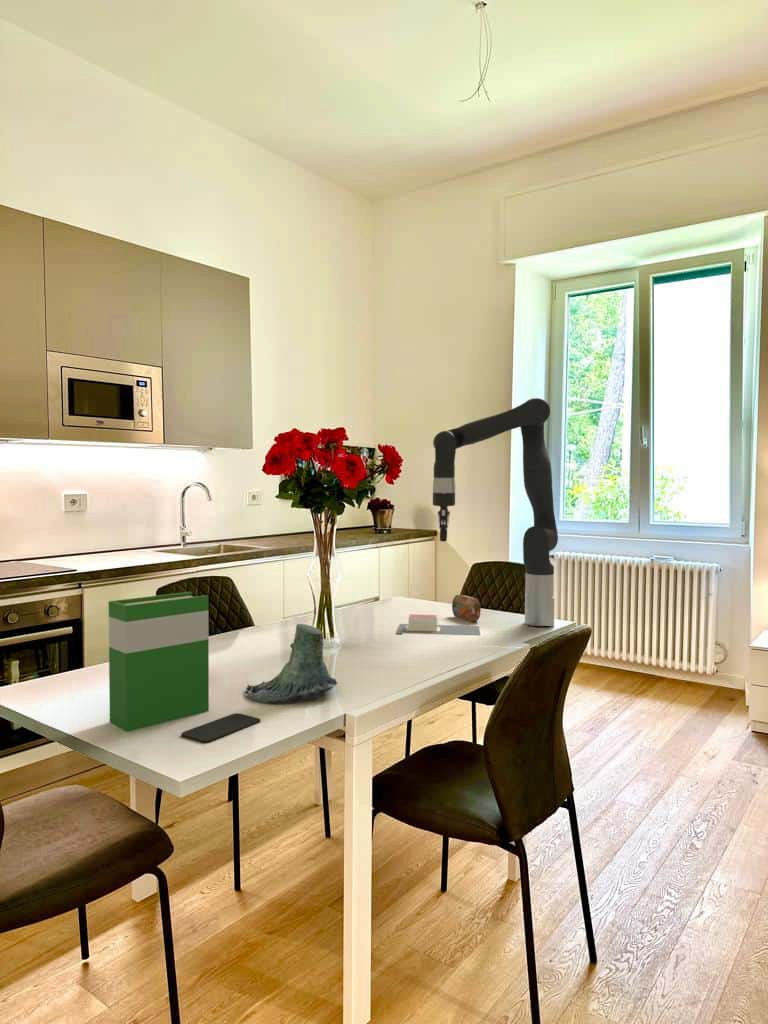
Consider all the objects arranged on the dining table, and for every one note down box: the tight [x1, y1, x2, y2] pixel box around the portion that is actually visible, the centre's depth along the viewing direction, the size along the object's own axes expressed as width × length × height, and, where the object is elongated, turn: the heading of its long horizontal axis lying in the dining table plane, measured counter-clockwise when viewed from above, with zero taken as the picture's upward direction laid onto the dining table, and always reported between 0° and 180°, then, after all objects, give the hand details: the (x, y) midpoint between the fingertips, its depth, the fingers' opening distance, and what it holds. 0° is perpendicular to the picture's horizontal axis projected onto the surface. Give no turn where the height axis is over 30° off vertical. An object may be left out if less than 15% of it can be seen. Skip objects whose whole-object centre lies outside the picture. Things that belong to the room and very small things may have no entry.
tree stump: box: [244, 623, 338, 705], centre depth 161 cm, size 18×20×18 cm
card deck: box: [408, 613, 439, 631], centre depth 228 cm, size 5×9×4 cm, turn 84°
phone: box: [180, 713, 261, 744], centre depth 138 cm, size 7×1×15 cm
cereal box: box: [108, 591, 210, 733], centre depth 144 cm, size 18×7×24 cm, turn 135°
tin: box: [451, 594, 482, 623], centre depth 246 cm, size 15×3×8 cm, turn 25°
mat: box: [395, 623, 481, 637], centre depth 228 cm, size 26×14×1 cm, turn 84°
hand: (443, 540), depth 238 cm, fingers open, 8 cm apart
